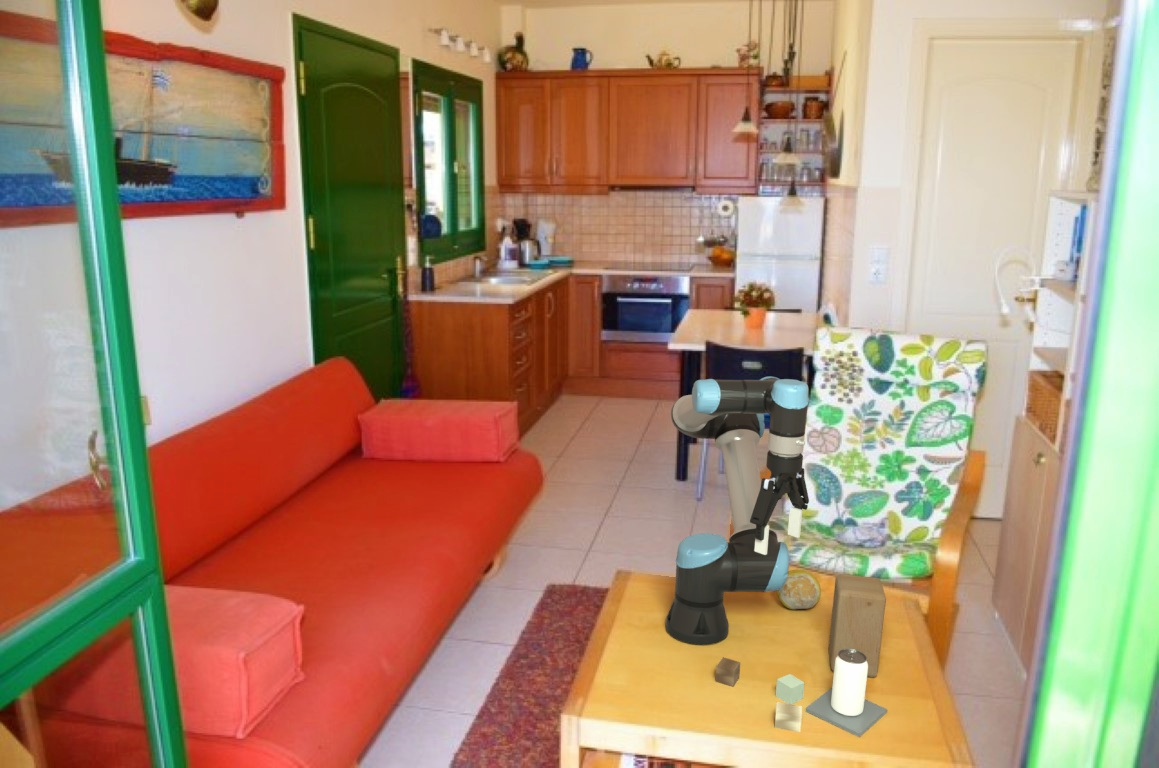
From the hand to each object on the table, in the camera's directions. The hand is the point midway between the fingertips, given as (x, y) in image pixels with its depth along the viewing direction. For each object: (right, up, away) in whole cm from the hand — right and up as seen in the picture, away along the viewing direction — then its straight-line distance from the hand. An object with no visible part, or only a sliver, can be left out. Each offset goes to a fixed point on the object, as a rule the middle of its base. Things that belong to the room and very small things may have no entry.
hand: (777, 544), depth 194 cm
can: (+12, -32, -12) cm, 36 cm away
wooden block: (+18, -29, +6) cm, 35 cm away
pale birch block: (-2, -33, -17) cm, 38 cm away
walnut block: (-11, -30, -1) cm, 32 cm away
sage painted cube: (+1, -31, -7) cm, 32 cm away
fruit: (+12, -23, +32) cm, 41 cm away
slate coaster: (+11, -32, -12) cm, 37 cm away
